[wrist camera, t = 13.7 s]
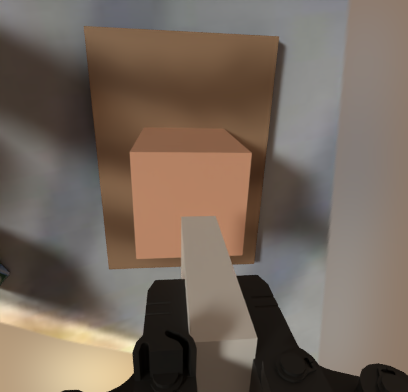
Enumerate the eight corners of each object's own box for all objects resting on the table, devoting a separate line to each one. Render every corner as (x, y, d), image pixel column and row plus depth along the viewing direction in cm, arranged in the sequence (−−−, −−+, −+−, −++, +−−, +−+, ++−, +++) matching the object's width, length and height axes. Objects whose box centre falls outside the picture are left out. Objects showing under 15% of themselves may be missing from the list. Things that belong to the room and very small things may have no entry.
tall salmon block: (143, 127, 23) (129, 152, 15) (223, 128, 24) (251, 152, 16) (147, 202, 25) (136, 259, 17) (219, 201, 26) (242, 255, 18)
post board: (87, 28, 21) (42, -1, 14) (274, 38, 23) (325, 17, 15) (111, 263, 28) (90, 327, 21) (251, 258, 30) (278, 316, 22)
